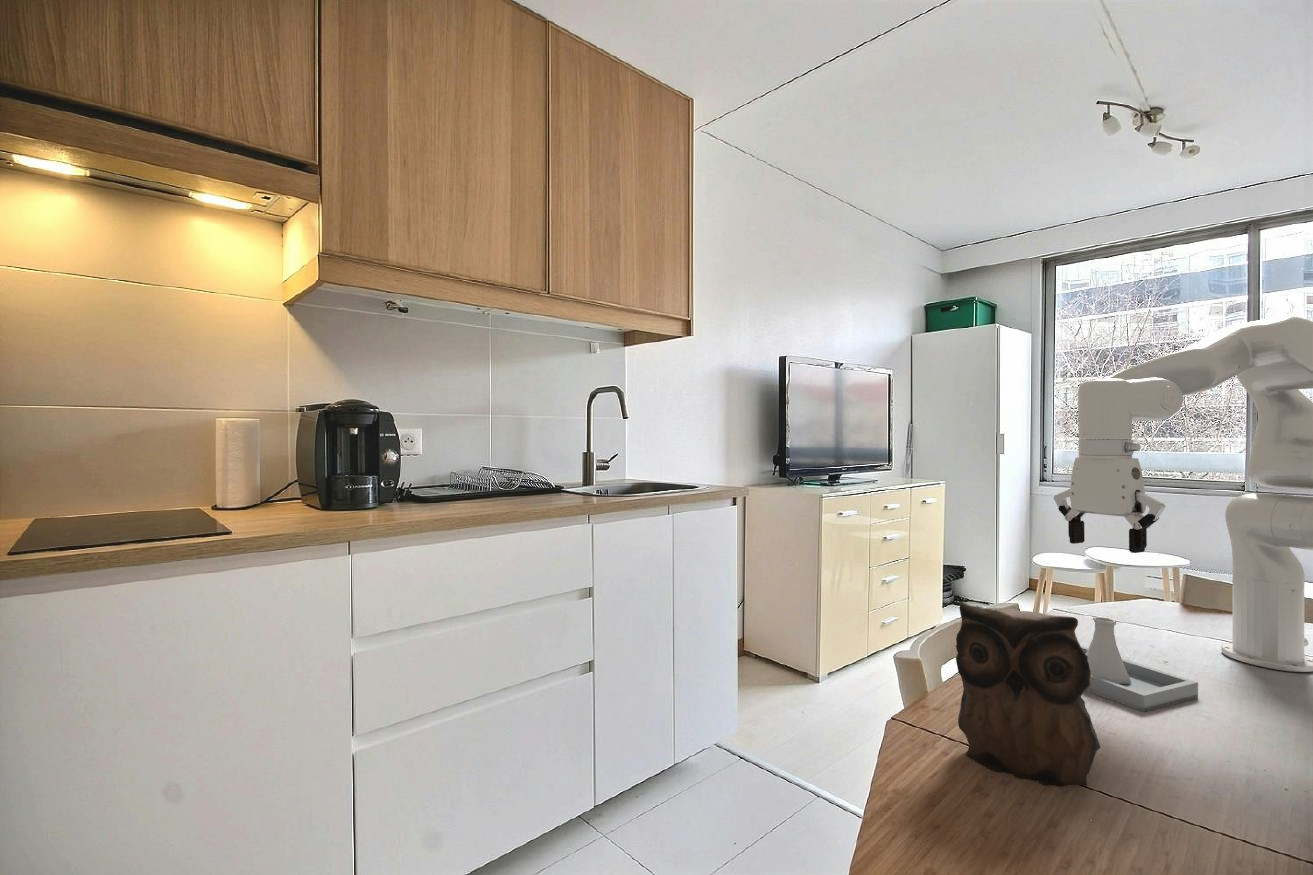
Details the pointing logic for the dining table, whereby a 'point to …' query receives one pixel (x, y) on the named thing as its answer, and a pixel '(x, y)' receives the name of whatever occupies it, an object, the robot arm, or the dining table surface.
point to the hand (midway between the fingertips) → (1105, 547)
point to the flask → (1106, 653)
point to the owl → (1025, 695)
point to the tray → (1145, 688)
